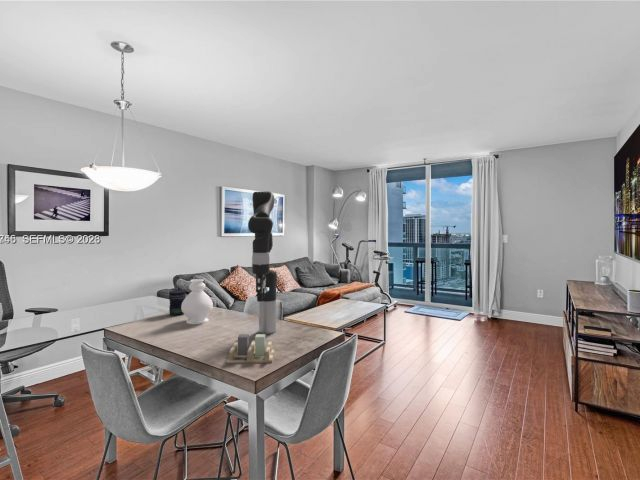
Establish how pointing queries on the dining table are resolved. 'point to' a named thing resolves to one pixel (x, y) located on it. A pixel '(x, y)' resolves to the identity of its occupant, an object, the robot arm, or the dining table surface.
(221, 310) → the dining table surface
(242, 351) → the charcoal plug
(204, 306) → the decorative vase
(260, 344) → the sage plug
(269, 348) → the slot rack
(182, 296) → the storage jar
